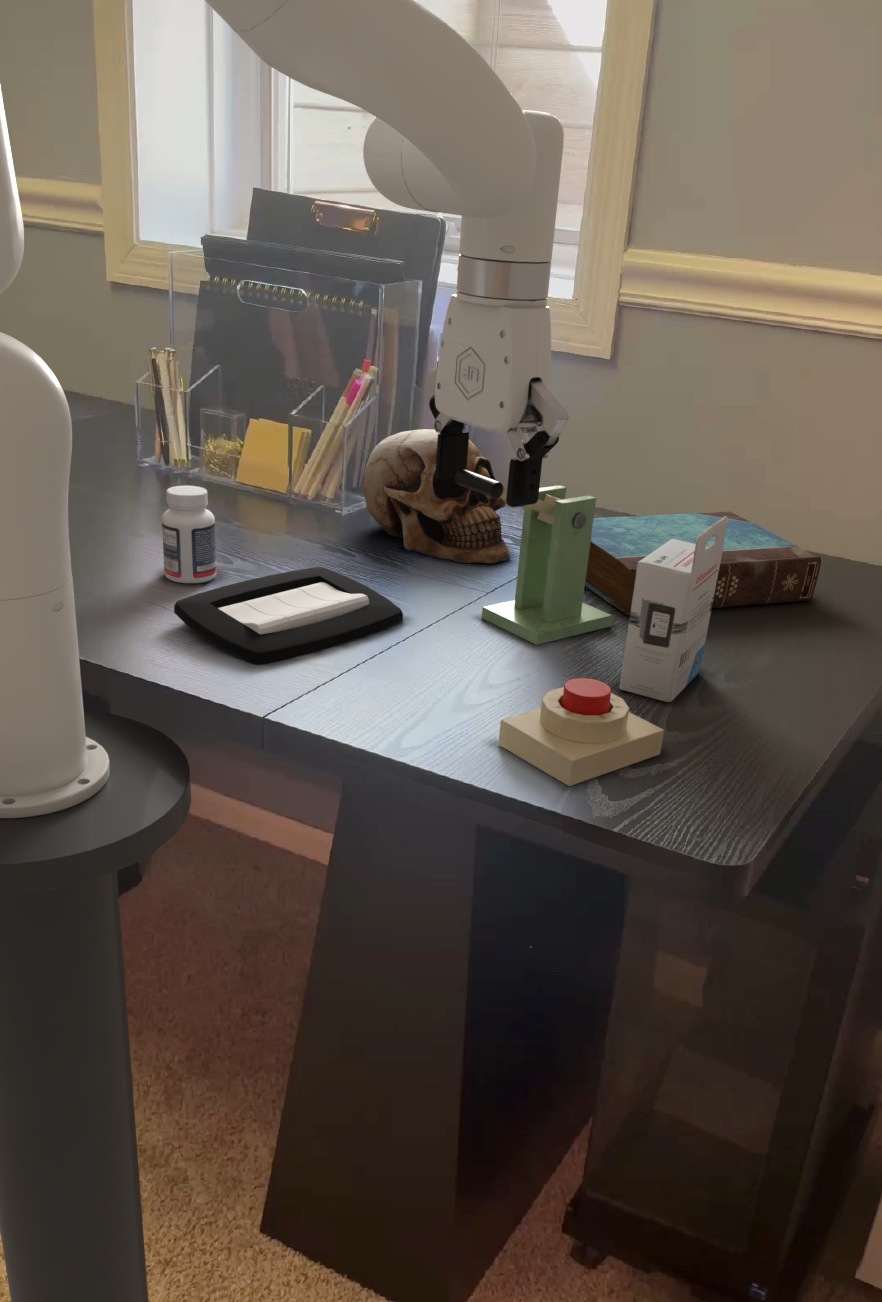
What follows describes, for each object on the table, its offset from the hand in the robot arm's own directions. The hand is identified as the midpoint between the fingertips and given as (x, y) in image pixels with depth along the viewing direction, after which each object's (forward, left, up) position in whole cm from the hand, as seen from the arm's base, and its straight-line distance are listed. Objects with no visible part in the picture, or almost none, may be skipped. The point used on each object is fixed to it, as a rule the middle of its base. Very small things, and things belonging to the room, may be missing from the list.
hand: (485, 490), depth 106 cm
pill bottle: (-14, +28, -14) cm, 35 cm away
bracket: (+10, 0, -14) cm, 17 cm away
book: (+32, +2, -14) cm, 35 cm away
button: (-7, -22, -11) cm, 26 cm away
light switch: (-12, +12, -14) cm, 23 cm away
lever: (+4, 0, -3) cm, 5 cm away
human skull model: (+17, +26, -14) cm, 34 cm away
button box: (-7, -22, -14) cm, 27 cm away
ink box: (+9, -16, -14) cm, 23 cm away
